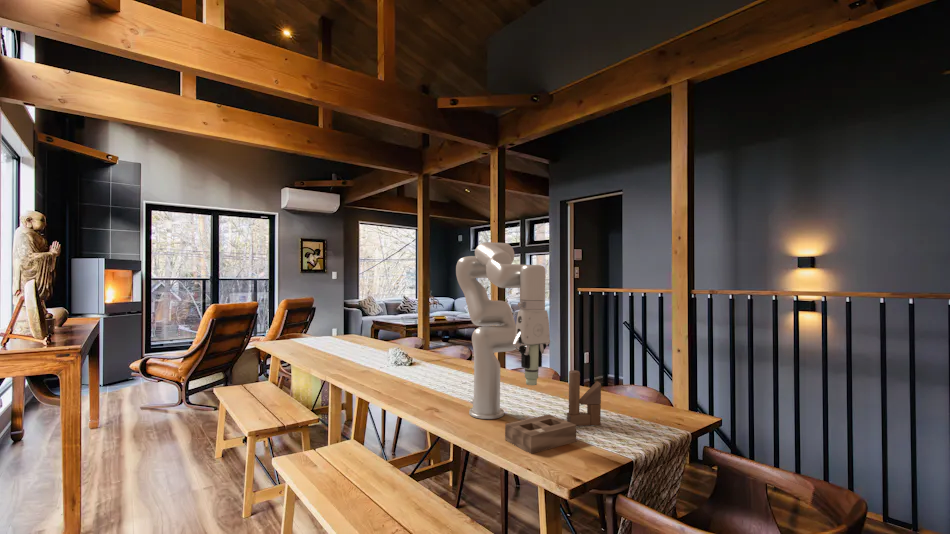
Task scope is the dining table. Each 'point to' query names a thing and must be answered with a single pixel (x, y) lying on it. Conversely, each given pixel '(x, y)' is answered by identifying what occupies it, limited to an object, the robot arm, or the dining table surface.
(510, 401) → the dining table surface
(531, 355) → the peg
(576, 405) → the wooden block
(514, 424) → the board
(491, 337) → the robot arm
